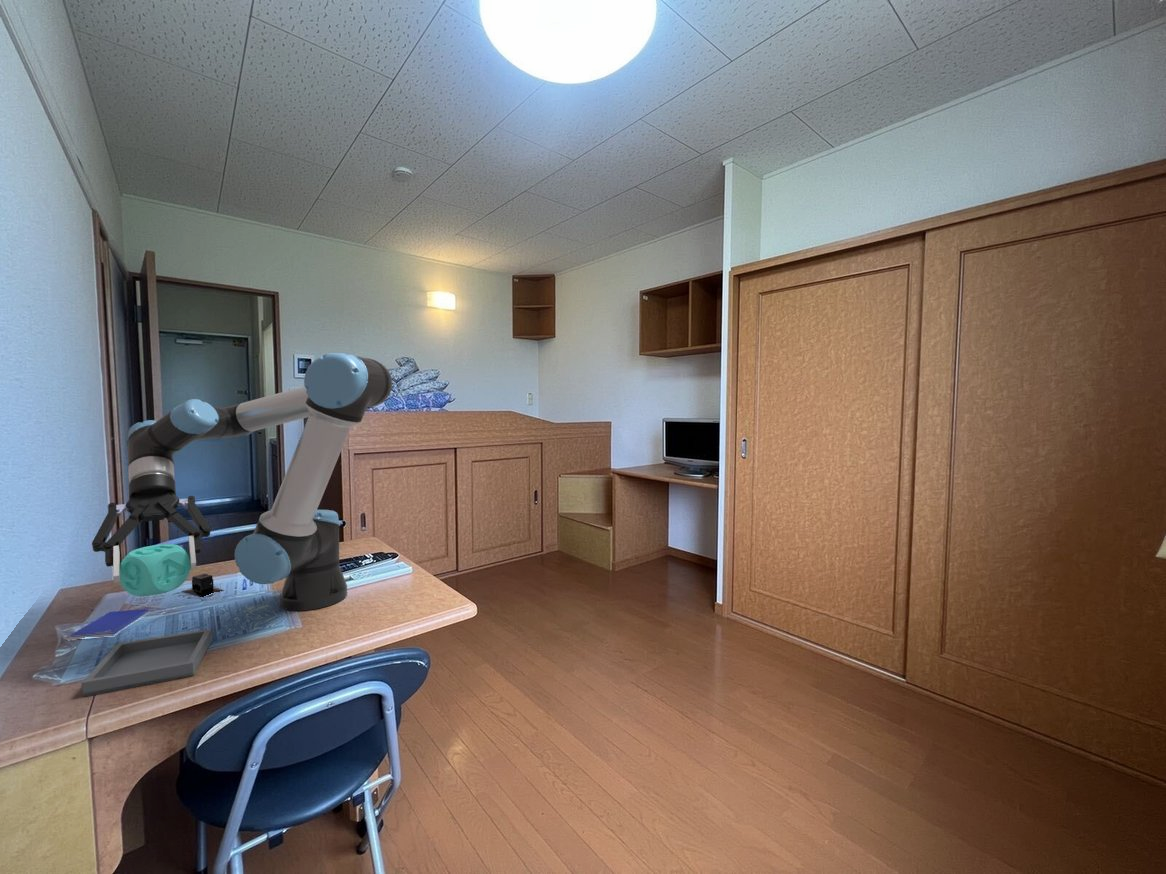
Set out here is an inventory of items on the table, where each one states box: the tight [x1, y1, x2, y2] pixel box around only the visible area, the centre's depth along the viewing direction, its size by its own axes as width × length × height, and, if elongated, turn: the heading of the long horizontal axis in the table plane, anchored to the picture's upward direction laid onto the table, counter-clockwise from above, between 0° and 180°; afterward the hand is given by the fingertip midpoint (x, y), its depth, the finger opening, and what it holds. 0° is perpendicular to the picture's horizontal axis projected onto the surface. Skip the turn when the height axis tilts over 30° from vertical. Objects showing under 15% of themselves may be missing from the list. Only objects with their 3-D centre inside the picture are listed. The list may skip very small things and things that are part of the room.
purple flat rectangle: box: [65, 608, 151, 641], centre depth 107 cm, size 2×8×12 cm
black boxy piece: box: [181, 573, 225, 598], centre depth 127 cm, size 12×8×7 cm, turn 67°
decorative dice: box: [119, 543, 191, 597], centre depth 97 cm, size 8×8×8 cm
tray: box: [81, 628, 213, 698], centre depth 92 cm, size 15×15×2 cm
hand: (156, 572), depth 95 cm, fingers closed on decorative dice, 11 cm apart
